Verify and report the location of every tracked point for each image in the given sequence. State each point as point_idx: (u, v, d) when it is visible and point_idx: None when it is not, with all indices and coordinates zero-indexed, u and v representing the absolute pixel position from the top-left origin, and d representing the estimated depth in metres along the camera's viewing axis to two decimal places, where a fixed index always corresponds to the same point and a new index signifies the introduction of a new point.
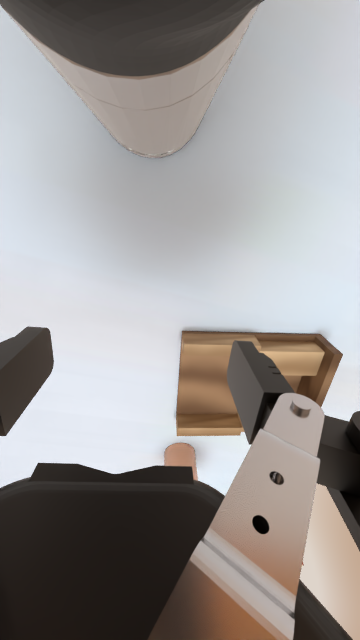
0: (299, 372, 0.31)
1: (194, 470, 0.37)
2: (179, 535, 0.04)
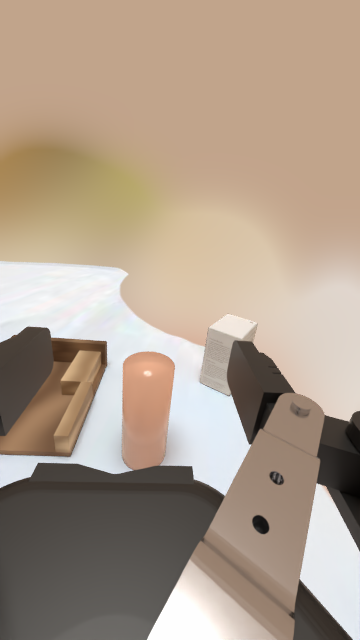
0: None
1: None
2: (179, 535, 0.04)
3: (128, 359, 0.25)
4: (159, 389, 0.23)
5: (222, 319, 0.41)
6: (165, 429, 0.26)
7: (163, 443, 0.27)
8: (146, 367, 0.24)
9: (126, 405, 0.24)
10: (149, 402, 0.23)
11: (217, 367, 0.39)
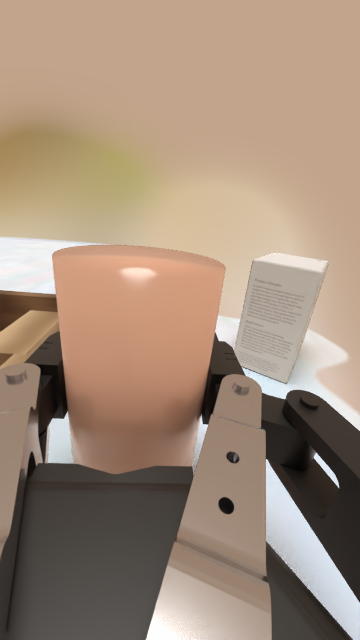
0: None
1: None
2: None
3: (80, 247, 0.08)
4: (180, 322, 0.06)
5: (270, 255, 0.24)
6: (190, 457, 0.09)
7: None
8: (132, 258, 0.07)
9: (70, 385, 0.07)
10: (145, 372, 0.06)
11: (267, 333, 0.22)
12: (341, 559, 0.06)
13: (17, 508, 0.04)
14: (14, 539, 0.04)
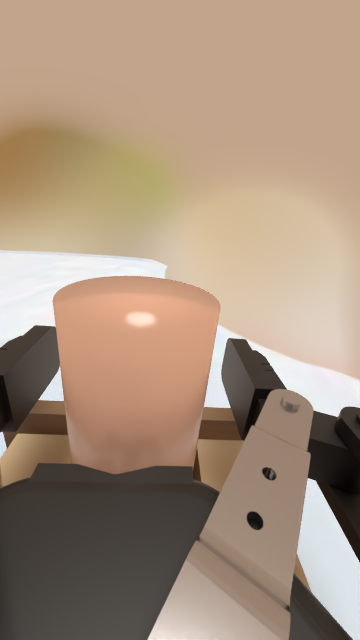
0: None
1: None
2: (179, 535, 0.04)
3: (80, 284, 0.08)
4: (176, 367, 0.06)
5: None
6: None
7: None
8: (130, 299, 0.08)
9: (70, 420, 0.08)
10: (143, 413, 0.07)
11: None
12: None
13: None
14: None
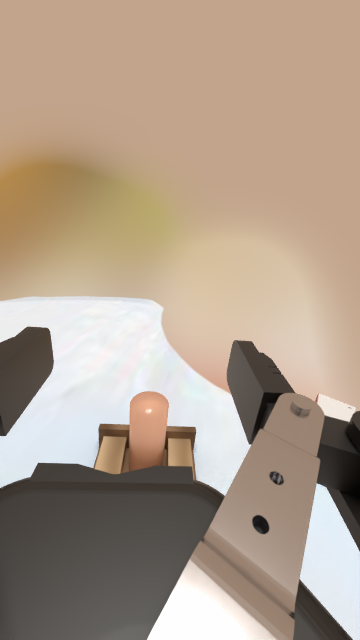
0: (121, 449, 0.37)
1: None
2: (179, 535, 0.04)
3: (133, 399, 0.33)
4: (157, 424, 0.31)
5: (319, 405, 0.39)
6: (162, 450, 0.34)
7: (160, 460, 0.35)
8: (147, 406, 0.32)
9: (133, 434, 0.32)
10: (150, 433, 0.31)
11: None
12: None
13: None
14: None
